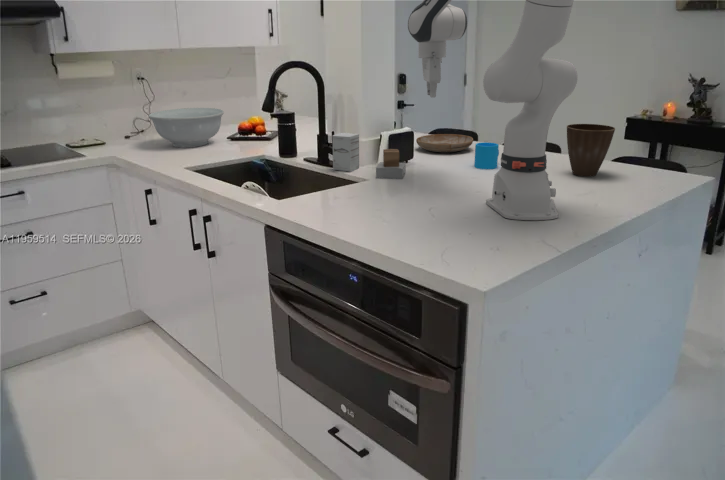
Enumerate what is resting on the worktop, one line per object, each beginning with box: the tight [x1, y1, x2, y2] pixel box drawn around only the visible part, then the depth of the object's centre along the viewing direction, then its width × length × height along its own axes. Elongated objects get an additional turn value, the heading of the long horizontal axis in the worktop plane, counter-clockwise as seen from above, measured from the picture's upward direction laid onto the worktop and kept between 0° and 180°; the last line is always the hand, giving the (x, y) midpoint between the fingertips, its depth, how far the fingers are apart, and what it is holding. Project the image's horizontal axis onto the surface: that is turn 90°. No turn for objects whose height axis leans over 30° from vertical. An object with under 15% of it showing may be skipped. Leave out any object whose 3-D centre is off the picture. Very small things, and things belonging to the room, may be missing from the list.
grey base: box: [375, 161, 407, 180], centre depth 188 cm, size 9×9×4 cm
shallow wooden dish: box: [415, 133, 474, 153], centre depth 230 cm, size 23×24×5 cm
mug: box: [473, 141, 500, 170], centre depth 199 cm, size 12×8×8 cm
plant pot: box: [566, 123, 616, 178], centre depth 184 cm, size 15×15×16 cm
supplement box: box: [332, 132, 360, 173], centre depth 197 cm, size 7×7×13 cm
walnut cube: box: [382, 148, 400, 167], centre depth 187 cm, size 5×5×5 cm
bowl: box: [148, 107, 225, 149], centre depth 248 cm, size 32×32×15 cm
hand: (431, 96), depth 181 cm, fingers open, 8 cm apart
